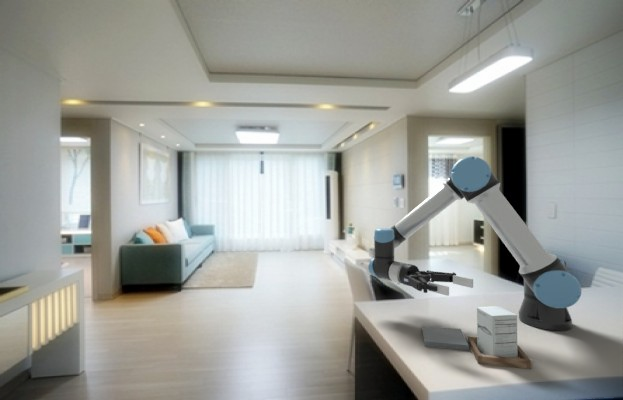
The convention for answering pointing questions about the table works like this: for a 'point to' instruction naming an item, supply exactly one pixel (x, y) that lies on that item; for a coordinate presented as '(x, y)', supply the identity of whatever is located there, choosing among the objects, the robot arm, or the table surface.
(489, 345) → the supplement box
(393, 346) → the table surface
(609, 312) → the table surface
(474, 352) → the walnut holder
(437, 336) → the slate trivet
